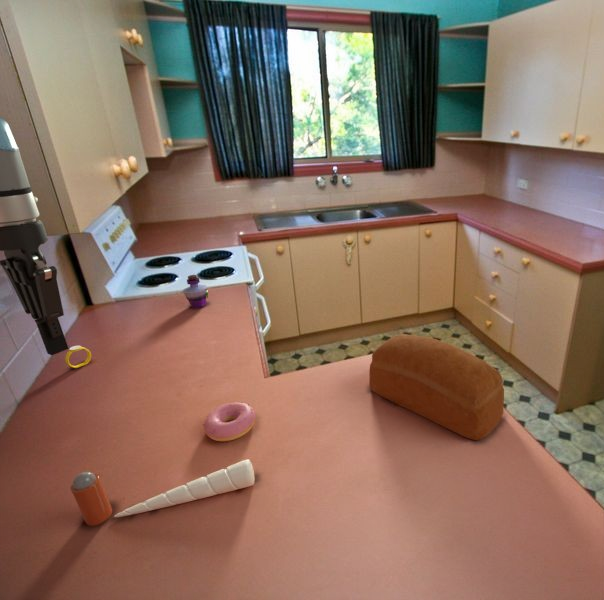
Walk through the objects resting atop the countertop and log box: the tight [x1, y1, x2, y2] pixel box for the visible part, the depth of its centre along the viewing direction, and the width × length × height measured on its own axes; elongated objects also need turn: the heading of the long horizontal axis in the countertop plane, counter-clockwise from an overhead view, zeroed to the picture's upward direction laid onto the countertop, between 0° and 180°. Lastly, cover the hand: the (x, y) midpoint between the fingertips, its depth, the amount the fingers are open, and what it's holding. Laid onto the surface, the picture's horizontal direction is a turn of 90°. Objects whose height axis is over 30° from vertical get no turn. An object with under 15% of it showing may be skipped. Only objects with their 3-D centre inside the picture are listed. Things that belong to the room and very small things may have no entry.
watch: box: [64, 344, 92, 369], centre depth 121 cm, size 6×3×6 cm, turn 151°
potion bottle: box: [182, 274, 209, 309], centre depth 158 cm, size 9×9×12 cm
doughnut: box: [203, 401, 257, 442], centre depth 95 cm, size 11×11×4 cm
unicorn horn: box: [113, 459, 256, 518], centre depth 78 cm, size 5×24×5 cm, turn 106°
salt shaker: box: [70, 471, 113, 527], centre depth 73 cm, size 4×4×10 cm
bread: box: [368, 333, 505, 441], centre depth 100 cm, size 14×33×16 cm, turn 50°
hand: (58, 351), depth 77 cm, fingers closed
